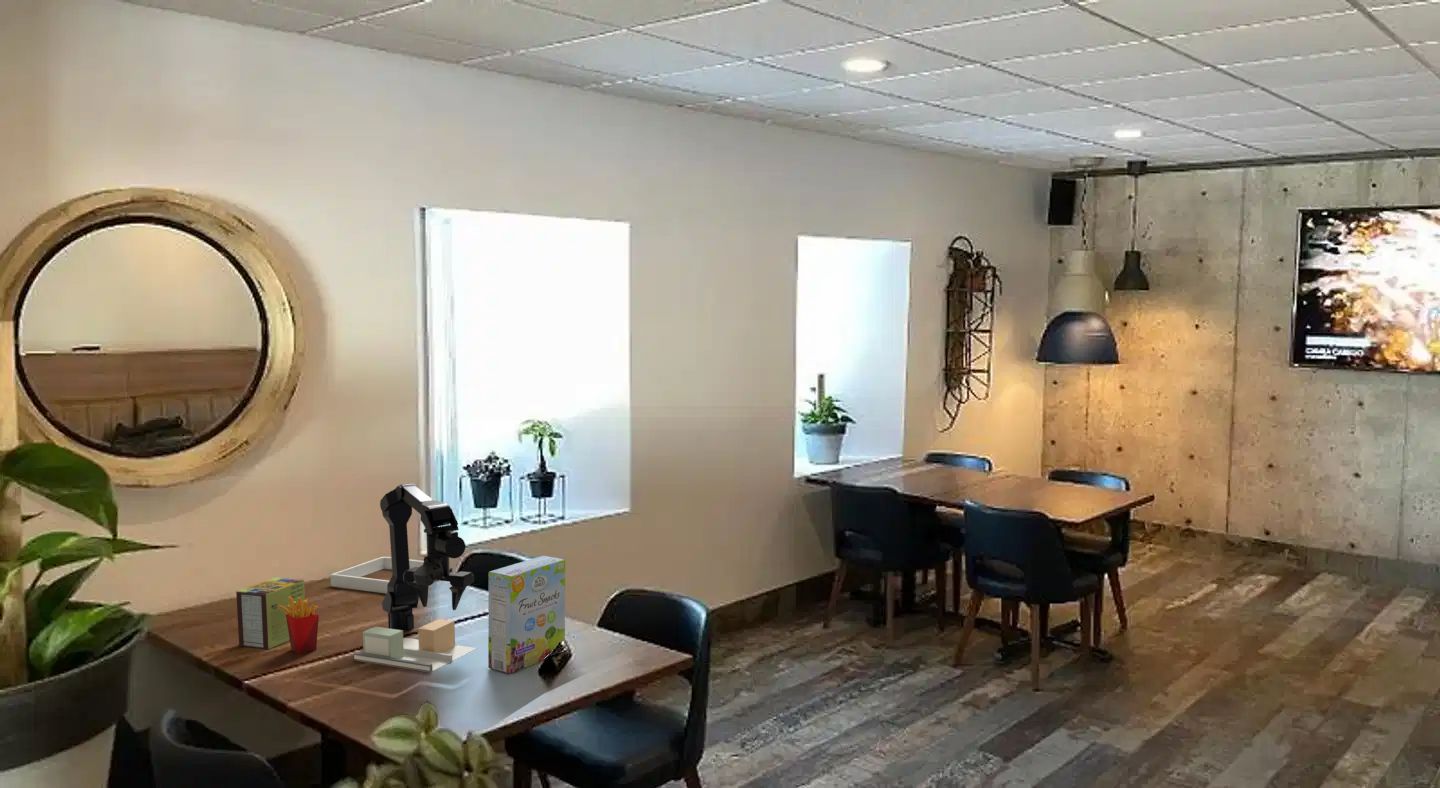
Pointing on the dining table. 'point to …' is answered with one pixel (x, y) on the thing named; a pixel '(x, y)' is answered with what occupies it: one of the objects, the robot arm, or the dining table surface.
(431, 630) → the ochre tea box
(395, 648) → the sage tea box
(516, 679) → the dining table surface
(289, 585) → the protein box
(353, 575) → the serving tray rim
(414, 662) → the shelf
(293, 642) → the french fries
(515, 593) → the snack box
